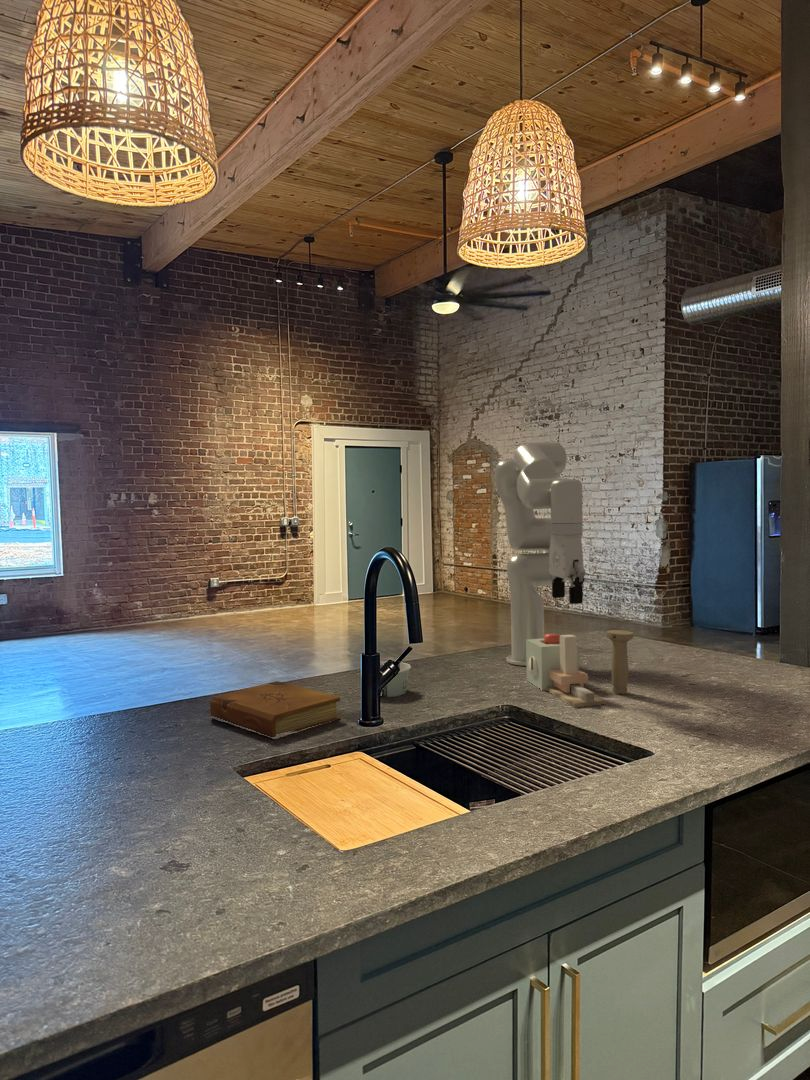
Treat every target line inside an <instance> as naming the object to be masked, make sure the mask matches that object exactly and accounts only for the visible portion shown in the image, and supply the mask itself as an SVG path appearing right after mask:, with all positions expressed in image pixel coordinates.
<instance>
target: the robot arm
mask: <svg viewBox="0 0 810 1080" xmlns="http://www.w3.org/2000/svg"><path fill="white" fill-rule="evenodd" d="M567 462H568V457H567V452H566V449H565V447H564V446H563V445H562V444H561V443H559V442H555V441H554V442H526V443H522V444H521V445H519V446H518V447H517V448H515V451H514V453H513V458H509V459H505V460H501V461H500V462H498V463H497V465H496V467H495V470H494V483H495V488H496V491H497V493H498V494H497V495H498V496H499V498H500V500H501V502H502V505H503V508H504V509H503V510H504V515H505V524H506V533H507V538H508V544H509V546H510V548H511V549H512V550H514V551H521V552H523V551H524V552H527V551H532V552H533V551H534V553H532V552H531V553H519V554H514V555H513V556H511V557H510V558H509V559H508V560H507V563H506V573H507V578H508V586H509V595H510V596H509V597H510V631H511V632H510V635H511V638H510V639H511V640H510V642H511V646H510V647H511V654H509V655H507V656H506V657H505V658H506V662H507V663H508V664H510V665H516V666H523V667H524V666H525V667H526V640H528V639H542V638H544V634H545V608H544V607H545V606H544V605H545V604H544V600H543V597H542V596H541V594H540V593H539V592H538V591H537V590H536V588H537V587H545V586H547V587H550V586H551V594H552V595H551V597H552V598H553V599H557V598H558V599H559V598H560V599H562V598H566V587H565V586H566V584H565V583H566V582H567V580H568V581H569V585H570V587H568V589H569V591H568V594H569V595H568V596H569V597H568V602H569V604H570V605H579V604H581V605H582V604H583V601H584V600H583V599H584V597H583V596H584V593H583V590H584V586H585V585H584V581H585V575H586V569H585V568H584V554H583V553H584V552H583V540H582V537H583V536H584V535H583V534H584V533H583V532H584V531H583V527H584V524H583V483H582V481H581V480H579V479H573V478H566V477H565V478H564V477H563V478H559V477H560V476H561V474H562V473H563V472H564V471H565V468H566V466H567ZM543 509H545V510H547V509H550V517H544V518H543V517H540V518H539V517H538V518H537V517H536V516H535V511H534V510H543ZM535 551H545V553H544V552H543V553H539V552H535Z"/></svg>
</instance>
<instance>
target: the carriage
mask: <svg viewBox="0 0 810 1080" xmlns="http://www.w3.org/2000/svg"><path fill="white" fill-rule="evenodd" d="M559 635H560V669H558V670H549V678H550V679H552V680H553V681H554V686H555V687H557V688H559V689H560V690H562V691H564V692H566V693H569V692H570V684H578V685H580V686H582V687H584V685H585V684H588V683H589V674H588V673H586V672H585V671H582V670H580V669H579V670H578V669H577V646H576V643H577V636H576V635H573V634H572V633H571V634H559ZM584 688H585V687H584Z"/></svg>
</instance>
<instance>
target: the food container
mask: <svg viewBox="0 0 810 1080" xmlns="http://www.w3.org/2000/svg"><path fill="white" fill-rule="evenodd" d="M380 662H381V664H382V665H383V664H384V663H386V662H387V661H380ZM400 662H401V661H400ZM411 669H412V666H411V664H409V663H406V662H401V663H400V671H399V672H398V674H397V675H396V676H395V677H394V678H393V679H392V680H391V681H390V682H389V683H388V684H387V685H386V686H385V687H384V689H383V690H382V697H381V698H392V697H400V696H402V694H403V695H404V693H405V694H406V693H407V689H408V688H407V687H408V679H409V675H410V674H409V673H410V670H411Z"/></svg>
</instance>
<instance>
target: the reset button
mask: <svg viewBox="0 0 810 1080" xmlns="http://www.w3.org/2000/svg"><path fill="white" fill-rule="evenodd" d="M560 635H561V634H558V633H544V643H545V644H559V643H560Z"/></svg>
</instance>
